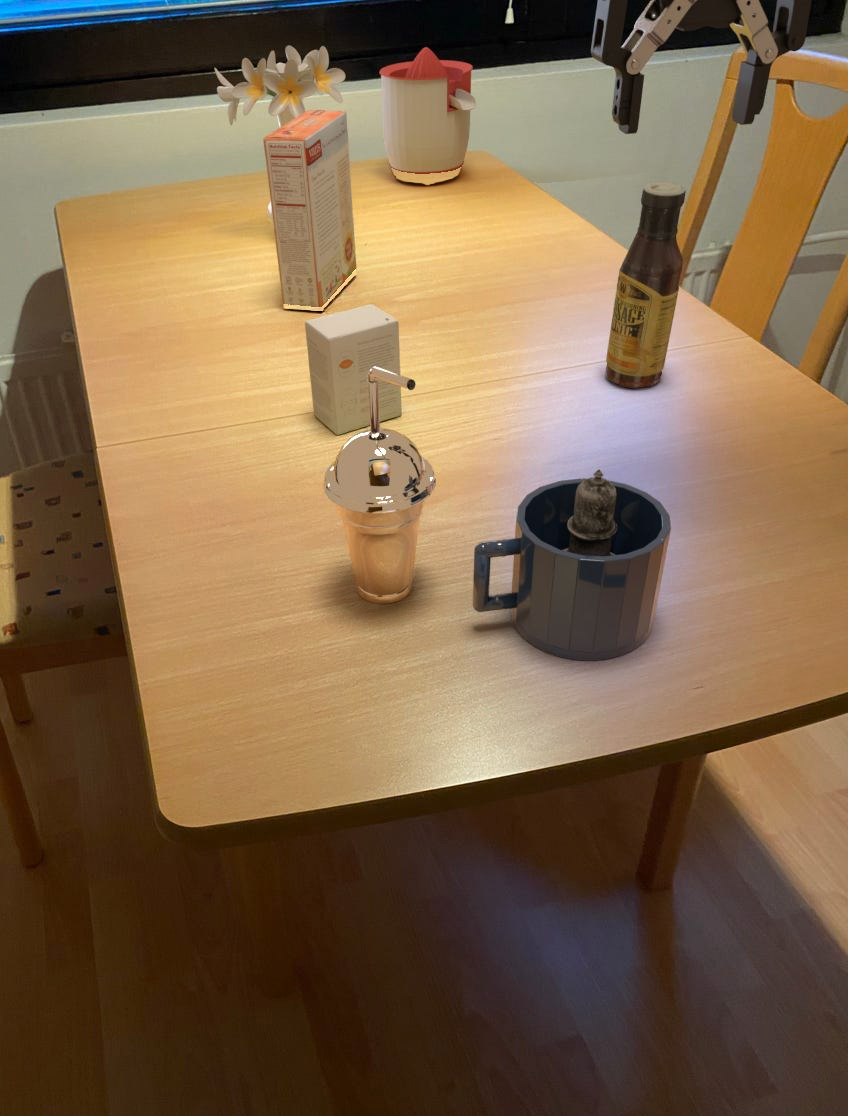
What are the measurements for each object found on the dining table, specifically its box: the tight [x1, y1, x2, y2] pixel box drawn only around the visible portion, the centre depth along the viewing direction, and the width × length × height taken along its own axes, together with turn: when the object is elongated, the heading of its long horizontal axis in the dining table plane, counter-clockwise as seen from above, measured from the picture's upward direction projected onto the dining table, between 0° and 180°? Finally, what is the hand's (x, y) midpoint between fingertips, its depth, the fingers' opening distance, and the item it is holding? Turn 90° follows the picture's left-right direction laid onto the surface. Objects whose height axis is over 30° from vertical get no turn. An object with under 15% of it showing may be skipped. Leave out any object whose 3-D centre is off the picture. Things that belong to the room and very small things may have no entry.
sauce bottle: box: [605, 181, 687, 389], centre depth 99 cm, size 7×6×20 cm
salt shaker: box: [563, 469, 617, 556], centre depth 70 cm, size 6×6×12 cm
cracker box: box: [262, 109, 357, 307], centre depth 124 cm, size 14×6×21 cm, turn 161°
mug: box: [472, 477, 672, 661], centre depth 72 cm, size 14×11×9 cm
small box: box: [304, 303, 403, 436], centre depth 99 cm, size 8×6×10 cm
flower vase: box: [214, 45, 346, 227], centre depth 142 cm, size 13×18×25 cm
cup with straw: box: [322, 366, 437, 604], centre depth 72 cm, size 8×9×20 cm
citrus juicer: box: [379, 46, 477, 174], centre depth 165 cm, size 16×17×20 cm
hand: (685, 127), depth 69 cm, fingers open, 8 cm apart
